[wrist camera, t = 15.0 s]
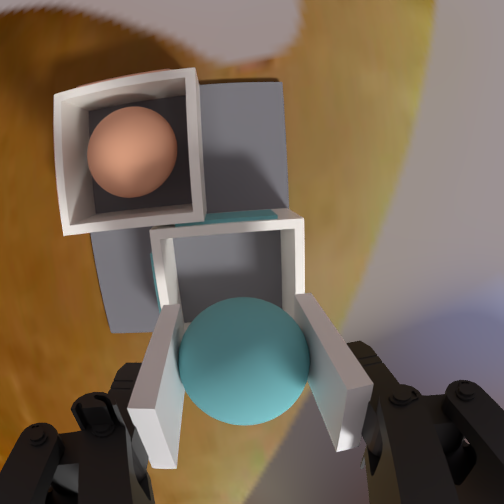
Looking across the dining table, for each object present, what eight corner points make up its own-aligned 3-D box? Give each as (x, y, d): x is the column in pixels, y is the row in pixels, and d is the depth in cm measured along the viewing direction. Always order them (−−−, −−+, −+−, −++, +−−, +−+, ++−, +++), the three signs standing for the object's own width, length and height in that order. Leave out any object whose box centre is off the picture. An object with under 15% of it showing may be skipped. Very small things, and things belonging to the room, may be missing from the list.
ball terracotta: (103, 120, 17) (69, 110, 12) (180, 108, 17) (166, 91, 13) (109, 197, 18) (76, 209, 14) (185, 188, 19) (173, 197, 14)
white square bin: (160, 213, 19) (145, 226, 15) (285, 204, 20) (303, 214, 16) (176, 326, 22) (168, 362, 17) (288, 317, 22) (303, 349, 18)
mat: (82, 105, 17) (80, 104, 16) (281, 83, 18) (282, 82, 18) (112, 330, 21) (111, 333, 21) (289, 318, 22) (291, 320, 22)
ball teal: (177, 283, 13) (155, 343, 8) (294, 274, 14) (331, 328, 9) (193, 378, 14) (185, 454, 10) (294, 369, 15) (320, 441, 10)
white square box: (81, 104, 17) (51, 91, 13) (199, 85, 18) (195, 63, 13) (89, 221, 19) (60, 236, 15) (207, 209, 20) (204, 221, 15)
